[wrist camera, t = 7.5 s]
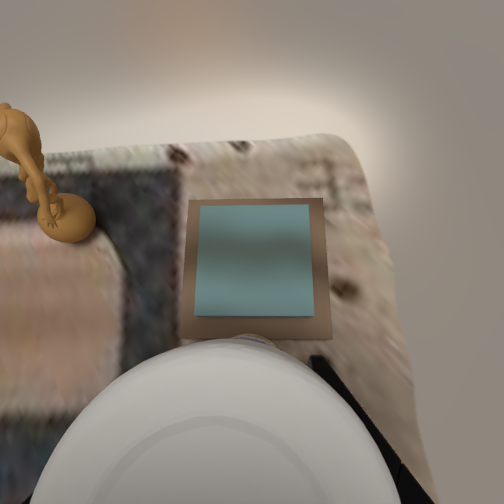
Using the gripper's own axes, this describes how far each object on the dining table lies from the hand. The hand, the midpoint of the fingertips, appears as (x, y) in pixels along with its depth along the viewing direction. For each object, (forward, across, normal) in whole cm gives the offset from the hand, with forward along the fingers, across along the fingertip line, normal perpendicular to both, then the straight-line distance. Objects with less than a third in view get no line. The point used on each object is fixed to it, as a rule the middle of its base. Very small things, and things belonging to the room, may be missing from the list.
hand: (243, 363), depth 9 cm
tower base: (+14, 0, +5) cm, 14 cm away
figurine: (+17, +14, +2) cm, 22 cm away
